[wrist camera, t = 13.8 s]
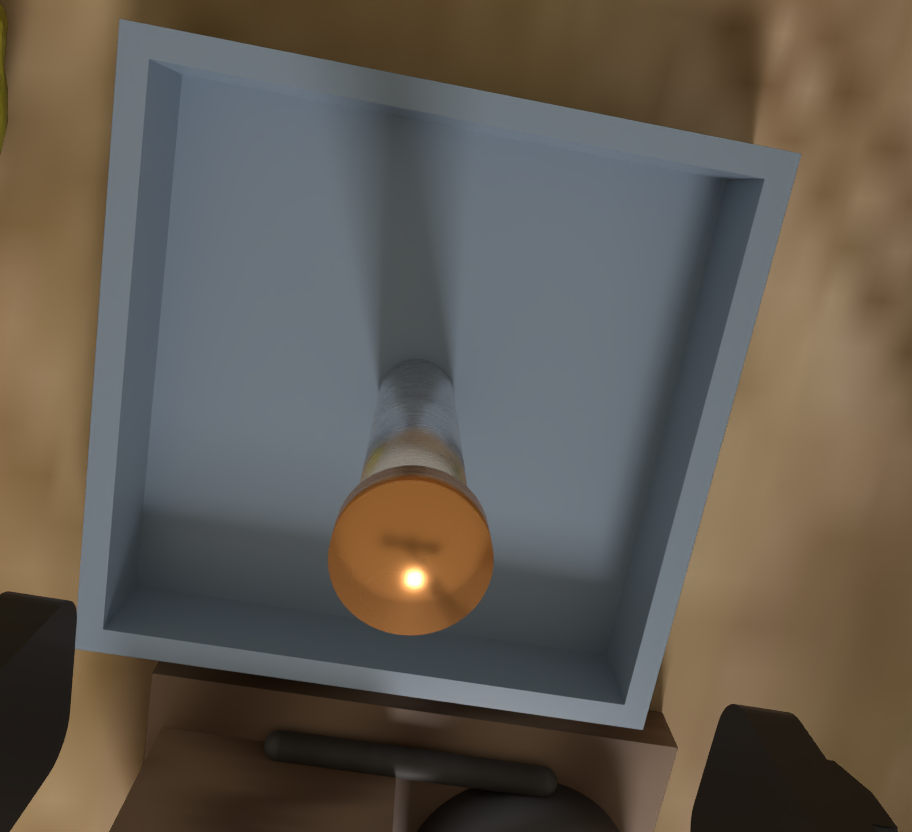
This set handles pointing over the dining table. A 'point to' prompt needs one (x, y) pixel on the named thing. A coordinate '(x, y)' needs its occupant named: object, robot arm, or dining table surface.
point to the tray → (401, 339)
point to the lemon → (3, 77)
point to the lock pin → (412, 514)
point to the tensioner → (380, 763)
